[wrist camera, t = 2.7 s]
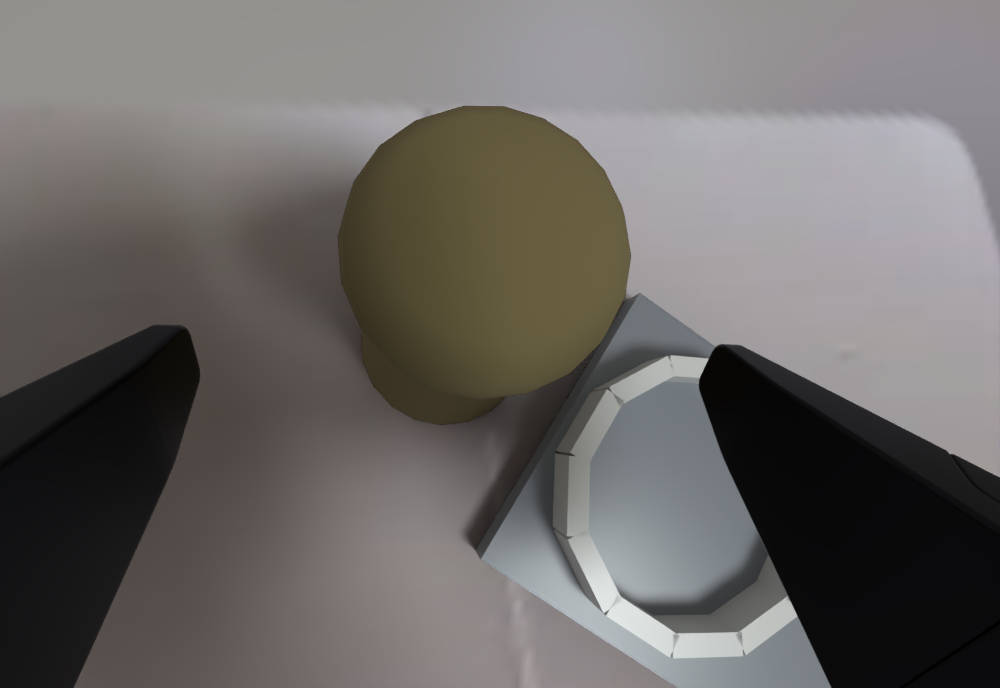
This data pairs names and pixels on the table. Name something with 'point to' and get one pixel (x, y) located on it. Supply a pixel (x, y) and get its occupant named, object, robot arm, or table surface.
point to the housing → (650, 521)
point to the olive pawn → (480, 260)
